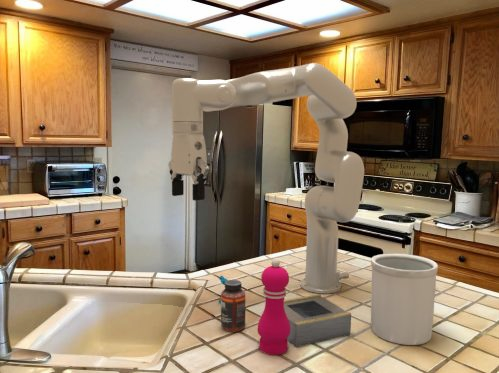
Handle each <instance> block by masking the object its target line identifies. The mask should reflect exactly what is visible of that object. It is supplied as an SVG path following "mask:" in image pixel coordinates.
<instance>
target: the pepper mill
mask: <svg viewBox="0 0 499 373" xmlns="http://www.w3.org/2000/svg"><path fill="white" fill-rule="evenodd" d="M260 278H261V281H260V282H261V284H262V285H263V286H264V287H263V291H262V292H263V293H262V294H263V296H264V297H265V302H264V304H265V306H264V308H263V311H262V313H261V315H260V317H259V319H258V323H257V328H256V329H257V333H258V335H259V337H260V338H259V343H258V344H259V346H258V348H259V350H260V351H261V352H262V353H264V354H267V355H272V356H274V355H275V356H277V355H282V354H284V353H286V352H287V351H288V349H289V341H288V340H287V339H286V338H287V337H288V336H289V335H290V323H289V320H288V318H287V315H286V313H285V310H284V300H285V297H286V296H287V288H286V287H288V285H289V282H290V275H289V272H288V270H287V269H286V268H285V267H282V266H280V261H279V260H278V259H276V258H275V259H273V260H272V261H271V265H269V266H267V267H266V268H264V269H263V271H262V273H261V276H260Z"/></svg>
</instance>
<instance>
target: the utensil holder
mask: <svg viewBox="0 0 499 373" xmlns="http://www.w3.org/2000/svg"><path fill="white" fill-rule="evenodd" d="M370 264H371V265H370V266H371V295H370V297H371V298H370V324H371V326H370V329H371V332H373V334H374V335H376V336H377V337H378V338H380V339H383V340H385V341H387V342H391V343H394V344H398V345H404V346H405V345H407V346H418V345H423V344H426V343H428V342H430V341H431V339H432V335H433V324H434V313H435V298H436V296H435V295H436V284H437V283H436V282H437V281H436V280H437V274H438V271H439V265H438V263H437V262H435V261H434V260H432V259H429V258H427V257H423V256H419V255H415V254H406V253H382V254H377V255H373V256H372V257H371V259H370Z"/></svg>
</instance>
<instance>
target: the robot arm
mask: <svg viewBox="0 0 499 373" xmlns="http://www.w3.org/2000/svg"><path fill="white" fill-rule="evenodd" d="M171 85H172V86H171V94H172V95H171V97H172V98H171V103H172V105H171V106H172V107H171V108H172V109H171V110H172V111H171V113H172V114H171V118H172V119H171V120H172V127H171V128H172V133H171V134H172V143H171V156H170V157H171V159H170V161H169V162H168V168H169V175H170V180H171V195H172V196H173V197H177V196H184V186H185V185H184V184H185V183H184V179H183V178H184V176H187V177H189V176H191V179H192V181H193V183H192V201H195V202H196V201H202V200H203V201H204V200H205V199H206V198H205V195H206V192H205V190H206V189H205V186H206V185H205V184H207V179H208V177H209V171H210V166H209V165H208V161H207V160H208V159H207V146H206V139H205V136H204V112H206V113H207V112H214V111H216V112H217V111H223V110H226V109H229V108H236V107H242V106H257V105H265V104H270V103H277V102H281V101H286V100H293V99H297V98H303V97H307V100H306V110H307V112H308V114H309V115H310V116H311V118H312V119H313V121H314V122H315V123H316V125H317V128H318V132H319V138H318V146H317V151H316V158H315V165H314V173H315V176H316V177H317V178H318V179H319V180H321V181H324V182H327V183H334V186H328V185H316V186H313V187H311V188H310V189H309V190H308V191H307V193H306V195H305V197H304V209H305V214H306V253H305V254H306V256H305V277H304V278H302V279H301V280H300V282H299V285H300V287H301V288H302V289H303V290H304V291H308V292H311V293H315V294H333V293H337V292H339V291H341V290H342V284H341V282H340V281H342V280H346V279H349V277H350V274H349V272H348V271H347V272H341V271H339V270H338V251H339V226H338V222H339V223H348V222H350V221H351V220H353V219H354V218H355V216H356V215H357V213H358V211H359V206H360V202H361V197H362V196H361V195H362V190H363V184H364V178H365V177H364V176H365V167H364V166H365V165H364V162H363V159H362V158H361V156H360V155H359V154H357V153H355V152H353V151H347V149H348V140H349V133H348V128H347V125H346V123H345V121H344V119H347V118H349V117H350V116H352V115H353V114H354V113H355V111H356V109H357V106H358V105H357V97H356V95H355V92H354V91H353V90H352V89H351V88H350V87H349V86H348V85H347V84H345V83H344V81H343V80H341V79H340V78H339V77H338V76H337V75H336V74H334V73H333V72H332V71H331V70H329V69H328V68H327V67H326V66H324V65H322V64H320V63H318V62H311V63H307V64H302V65H298V66H292V67H287V68H284V67H283V68H278V69H271V70H264V71H259V72H254V73H251V74H246V75H244V76H241V77H237V78H232V79H227V80H225V79H220V78H219V79H204V80H203V79H201V80H200V79H197V78H192V77H191V78H189V77H182V78H181V77H180V78H179V77H178V78H176V79H174V80H173V81H172V83H171Z"/></svg>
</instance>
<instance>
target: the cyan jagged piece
mask: <svg viewBox="0 0 499 373" xmlns="http://www.w3.org/2000/svg"><path fill="white" fill-rule="evenodd" d="M218 279H219V280H220V283H221V284H222V285H224V286H225V282H226V281H228V279H227V278H226V277H224V276H223V275H220V276H218ZM220 297H221V294H220ZM218 302H219V303H220V304H221V298H220V299H219V300H218ZM245 302H246V299H245Z"/></svg>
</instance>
